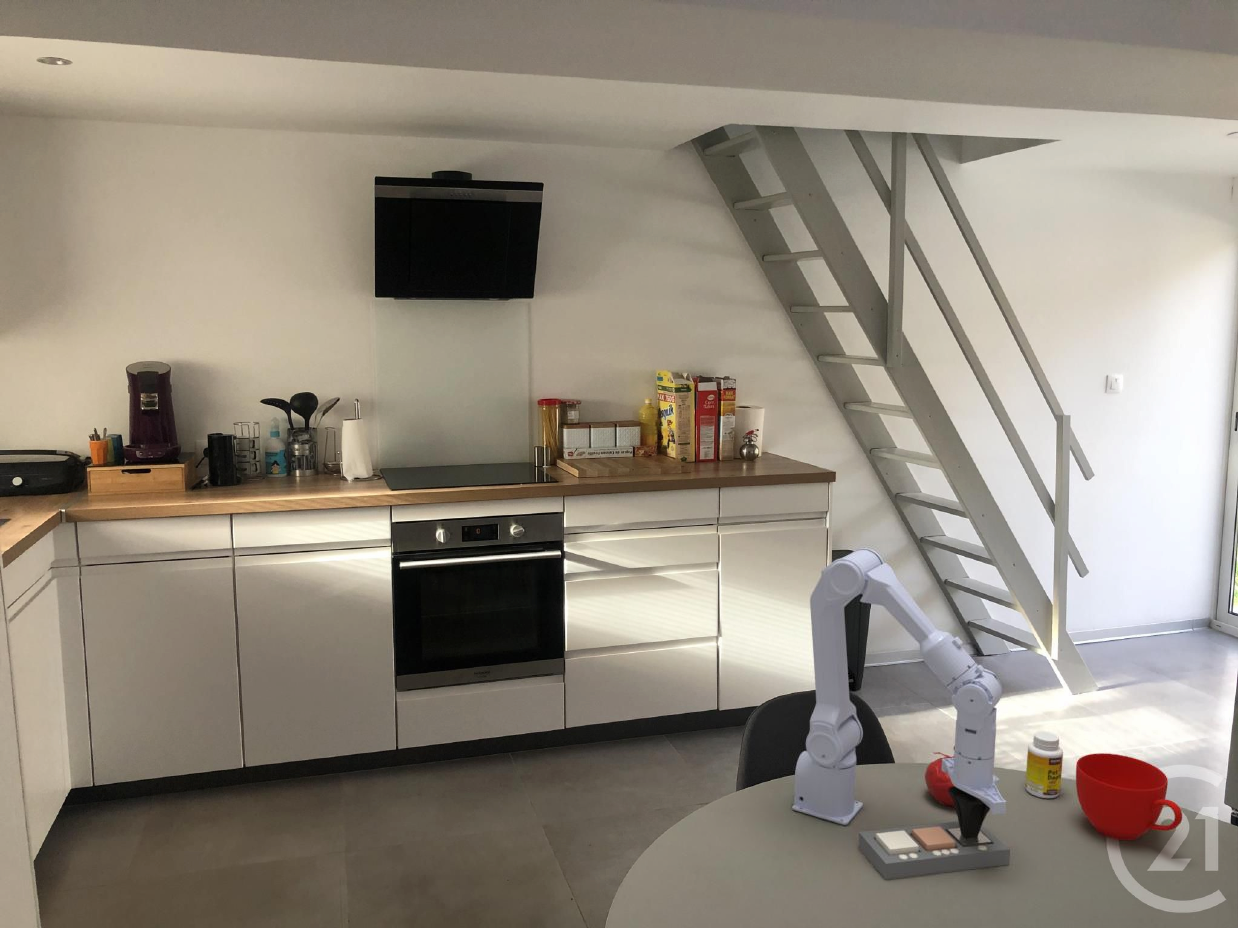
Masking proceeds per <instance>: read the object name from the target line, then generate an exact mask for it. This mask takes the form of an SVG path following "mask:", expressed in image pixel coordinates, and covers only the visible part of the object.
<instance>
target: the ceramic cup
mask: <svg viewBox="0 0 1238 928" xmlns="http://www.w3.org/2000/svg"><path fill="white" fill-rule="evenodd" d="M1075 767H1076V768H1075V786H1076V794H1077V799H1078V802H1079V805H1080V807H1081V809H1082V811H1083V814H1084V815H1085V817H1086V818H1087V820H1088V821H1089V822H1090V823H1091V825H1092V826H1093V828H1094V829H1095V831H1097V832H1098V833H1099V834H1101V835H1103V836H1105V837H1108V838H1110V839H1114V840H1120V841H1133V840H1136V839H1138V838H1139V837H1141V836H1142V835H1144V834H1145V833H1147V832H1148V831H1149V830H1154V831H1162V832H1164V831H1171V830H1173V829H1176V828H1178V827H1179V825H1180V824H1181V823H1182V821H1183V813H1182V809H1181V808H1180V805H1178V804H1177V803H1176V802H1175V801H1172V800H1170V799H1166V796H1167V790H1168V781H1169V779H1168V776H1167V775H1166V773H1164V772H1163V771H1162V770H1161V769H1159V768H1158V767H1156V766H1155V765H1153V764H1151V763H1149V762H1146V761H1144V760H1140V759H1138V758H1135V757H1132V756H1128V755H1121V754H1118V753H1117V754H1116V753H1107V752H1106V753H1103V752H1102V753H1100V752H1097V753H1091V754H1090V753H1089V754H1085V755H1083V756H1081V757H1080V758H1079V759H1077V761H1076V765H1075ZM1164 806H1168V807H1169V808H1170V809H1171V810H1172V812H1173V814H1174V819H1173V822H1172V823H1170V824H1168V825H1164V824H1163V825H1162V824H1157V821H1158V819H1159V817H1160V816H1161V813H1162V811H1163V808H1164Z"/></svg>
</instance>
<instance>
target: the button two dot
mask: <svg viewBox="0 0 1238 928" xmlns="http://www.w3.org/2000/svg"><path fill="white" fill-rule="evenodd" d="M876 842H877V843H878V844H879V845H880V846H881V847H882V848H883V850H884V851H885V852H886V853H887V854H888V855H889V856H891V855H900V854H908V853H917V852H919V846H918V845H917V844H916V843H915V842H914V841H913V840H912V838H911V837H910V836H909V835H908V834H907V833H906V832H905V831H904V830H903V831H894V832H885V833H876Z"/></svg>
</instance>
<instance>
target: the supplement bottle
mask: <svg viewBox="0 0 1238 928" xmlns="http://www.w3.org/2000/svg"><path fill="white" fill-rule="evenodd" d="M1059 745H1060V737H1059V736H1058V735H1057V734H1055V733H1053V732H1049V731H1036V732H1034V734H1033V741H1032V742H1030V743H1029V744H1028V746H1027V754H1026V755H1027V756H1026V770H1025V784H1024V785H1025V789H1026V791H1027V792H1028V793H1029V794H1031V795H1033V796H1035V797H1037V798H1043V799H1053V798H1056V797H1058V796H1059V795H1060V793H1061V784H1062V770H1063V761H1064V760H1063V758H1064V752H1063V749H1062V747H1061V746H1059Z"/></svg>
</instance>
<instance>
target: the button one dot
mask: <svg viewBox="0 0 1238 928" xmlns="http://www.w3.org/2000/svg"><path fill="white" fill-rule="evenodd" d="M948 833H949V834H950V835H951V836H952V837H953V838H954V839H955V840H956V841H957V842H958V843H959V844H960V845H961V846H962V847H968V846H977V845H985V844H991V841H990V840H989V839H988V838H987V837H986V836H985V835H984V834H983V833H981V832H979V834H978V837H974V838H965V837H964V836H963V835H962V834H961V831H960V828H955V829H948Z"/></svg>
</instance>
